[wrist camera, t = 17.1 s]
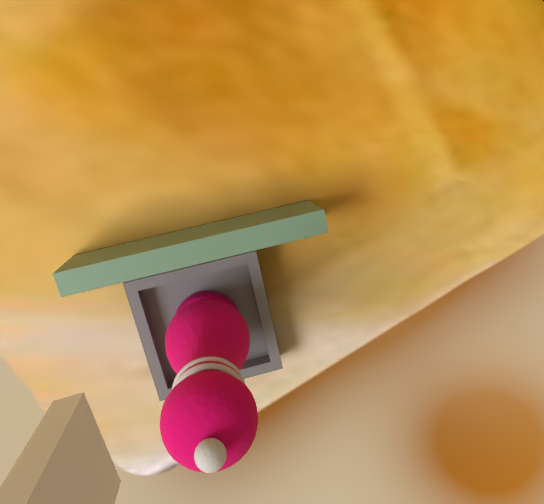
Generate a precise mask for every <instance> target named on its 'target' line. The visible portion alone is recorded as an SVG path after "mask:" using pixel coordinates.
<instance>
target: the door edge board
mask: <svg viewBox="0 0 544 504" xmlns="http://www.w3.org/2000/svg"><path fill="white" fill-rule="evenodd" d="M325 233H328V228H327V223H326V217H325V212H324V209H323V208H321V207H319V206H317V205H316V204H314V203H312V202H310V201H309V200H306V201H302V202H298V203H294V204H289V205H285V206H281V207H277V208H272V209H268V210H264V211H259V212H255V213H251V214H247V215H242V216H238V217H234V218H230V219H225V220H221V221H217V222H213V223H208V224H204V225H200V226H196V227H191V228H187V229H183V230H179V231H174V232H170V233H166V234H162V235H157V236H153V237H149V238H145V239H140V240H136V241H132V242H127V243H123V244H119V245H115V246H110V247H106V248H102V249H98V250H93V251H89V252H85V253H81V254H76V255H73V256H72V257H71V258H70V259H69V260H68V261H67V262H66V263H64V264H63V265H62V266H61V267H60V268H59V269H58V270H56V271H55V272H54V273H53V276H54V278H55V281H56V284H57V287H58V290H59V293H60V295H61V297H65V296H69V295H73V294H77V293H81V292H85V291H89V290H94V289H98V288H102V287H106V286H110V285H114V284H118V283H122V282H127V281H131V280H135V279H139V278H143V277H147V276H151V275H155V274H160V273H164V272H168V271H172V270H176V269H180V268H184V267H189V266H193V265H197V264H201V263H205V262H209V261H213V260H217V259H222V258H226V257H230V256H234V255H238V254H242V253H246V252H250V251H255V250H259V249H263V248H267V247H271V246H275V245H279V244H283V243H288V242H292V241H296V240H300V239H304V238H308V237H312V236H316V235H321V234H325Z"/></svg>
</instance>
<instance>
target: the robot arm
mask: <svg viewBox="0 0 544 504" xmlns="http://www.w3.org/2000/svg"><path fill="white" fill-rule="evenodd" d="M543 1H544V0H543ZM120 482H121V481H120V479H119V476H118V474H117V471H116V469H115V466H114V464H113V462H112V459H111V457H110V454H109V452H108V450H107V447H106V445H105V442H104V440H103V438H102V435H101V433H100V430H99V428H98V426H97V423H96V421H95V418H94V416H93V414H92V411H91V409H90V406H89V404H88V402H87V399H86V397H85V394H84V392H83V393H80V394H76V395H73V396H69V397H66V398H63V399H59V400H56V401H53V402H52V404H51V406H50V407H49V409H48V410H47V412H46V414H45V416H44V417H43V419H42V420H41V422H40V424H39V425H38V427H37V428H36V430H35V432H34V433H33V435H32V437H31V438H30V440H29V441H28V443H27V445H26V446H25V448H24V450H23V451H22V453H21V455H20V456H19V458H18V459H17V461H16V463H15V464H14V466H13V467H12V469H11V471H10V472H9V474H8V476H7V477H6V479H5V480H4V482H3V484H2V486H1V487H0V504H115V500H116V496H117V493H118V489H119V485H120Z"/></svg>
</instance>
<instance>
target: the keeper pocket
mask: <svg viewBox="0 0 544 504" xmlns="http://www.w3.org/2000/svg"><path fill="white" fill-rule="evenodd" d="M123 285H124V288H125V291H126V295H127V298H128V301H129V304H130V307H131V310H132V314H133V317H134V320H135V323H136V326H137V330H138V333H139V336H140V339H141V342H142V345H143V349H144V352H145V355H146V358H147V361H148V364H149V368H150V371H151V374H152V377H153V380H154V384H155V387H156V390H157V393H158V396H159V399H160V401H162V400H165V399H166V397H167V396H168V395H169V393H170V392H171V391H172V386H173V382H174V379H175V377H176V375H177V373H176V372H175V371H174V370H173V368H172V367H171V365H170V363H169V360H168V358H167V355H166V349H165V336H166V331H167V328H168V325H169V323H170V322H171V320H172V318H173V317H174V316H175V313H176V311H177V309H178V307H179V305H180V304H181V303H182V302H183V301H184V300H185V299H186V298H187V297H189V296H190V295H192V294H195V293H197V292H201V291H215V292H219V293H222V294H224V295H226V296H227V297H229V298H230V299H231V300H232V301H233V302H234V303H235V305H236V306H237V308H238V310H239V313H240V314H241V315H242V316H243V318H244V319H245V321H246V323H247V326H248V329H249V335H250V348H249V352H248V356H247V358H246V360H245V362H244V364H243V366H242V368H241V369H240V372H241V374H242V376H243V378H244V379H245V378H248V377H252V376H256V375H260V374H263V373H267V372H271V371H275V370H278V369H282V368H283V367H282V362H281V358H280V354H279V349H278V345H277V341H276V336H275V332H274V327H273V323H272V319H271V314H270V310H269V305H268V301H267V297H266V292H265V288H264V284H263V279H262V275H261V270H260V266H259V262H258V257H257V253H256V250H255V251H250V252H246V253H242V254H238V255H234V256H230V257H226V258H222V259H217V260H213V261H209V262H205V263H201V264H197V265H193V266H189V267H184V268H180V269H176V270H172V271H168V272H164V273H160V274H155V275H151V276H147V277H143V278H139V279H135V280H131V281H127V282H124V283H123Z"/></svg>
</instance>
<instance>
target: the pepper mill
mask: <svg viewBox="0 0 544 504" xmlns="http://www.w3.org/2000/svg"><path fill="white" fill-rule="evenodd" d="M249 348H250V335H249V329H248V326H247V323H246V321H245V319H244V318H243V316H242V315H241V314H240V313H239V310H238V308H237V306H236V305H235V303H234V302H233V301H232V300H231V299H230V298H229V297H227V296H226V295H224V294H222V293H219V292H215V291H201V292H197V293H195V294H192V295H190V296H189V297H187V298H186V299H185V300H184V301H183V302H182V303H181V304H180V305H179V307H178V309H177V311H176V313H175V316H174V317H173V318H172V320H171V322H170V323H169V325H168V328H167V331H166V336H165V349H166V355H167V358H168V360H169V363H170V365H171V367H172V368H173V370H174V371H175V372H176V373H177V375H176V377H175V379H174V382H173V386H172V391H171V392H170V393H169V395H168V396H167V397H166V399H165V402H164V405H163V408H162V411H161V418H160V431H161V436H162V440H163V443H164V445H165V447H166V449H167V451H168V453H169V454H170V455H171V456H172V458H173V459H174V460H176V461H177V462H178V463H179V464H181V465H183V466H184V467H187V468H188V469H191V470H194V471H198V472H206V473H213V472H216V471H220V470H223V469H226V468H228V467H230V466H232V465H233V464H235V463H236V462H238V461H239V460H240V459H241V458H242V457H243V456H244V455H245V454H246V453H247V451H248V450H249V448H250V446H251V445H252V442H253V440H254V438H255V435H256V430H257V425H258V413H257V407H256V403H255V400H254V398H253V395H252V393H251V392H250V390H249V389H248V388H247V386H246V385H245V382H244V378H243V376H242V374H241V372H240V369H241V368H242V366H243V364H244V362H245V360H246V358H247V356H248V352H249Z"/></svg>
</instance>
